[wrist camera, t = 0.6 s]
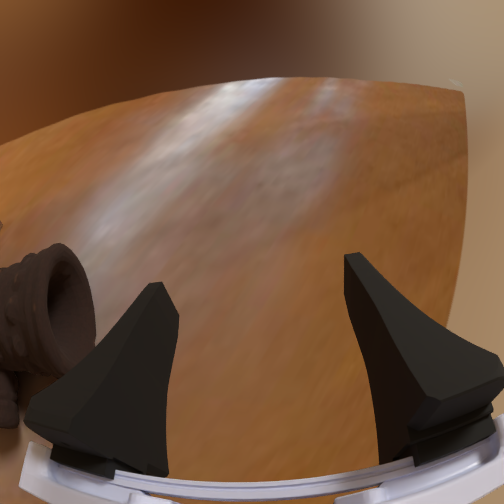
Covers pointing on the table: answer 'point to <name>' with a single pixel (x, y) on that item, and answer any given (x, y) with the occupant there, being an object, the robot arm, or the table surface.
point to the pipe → (42, 321)
